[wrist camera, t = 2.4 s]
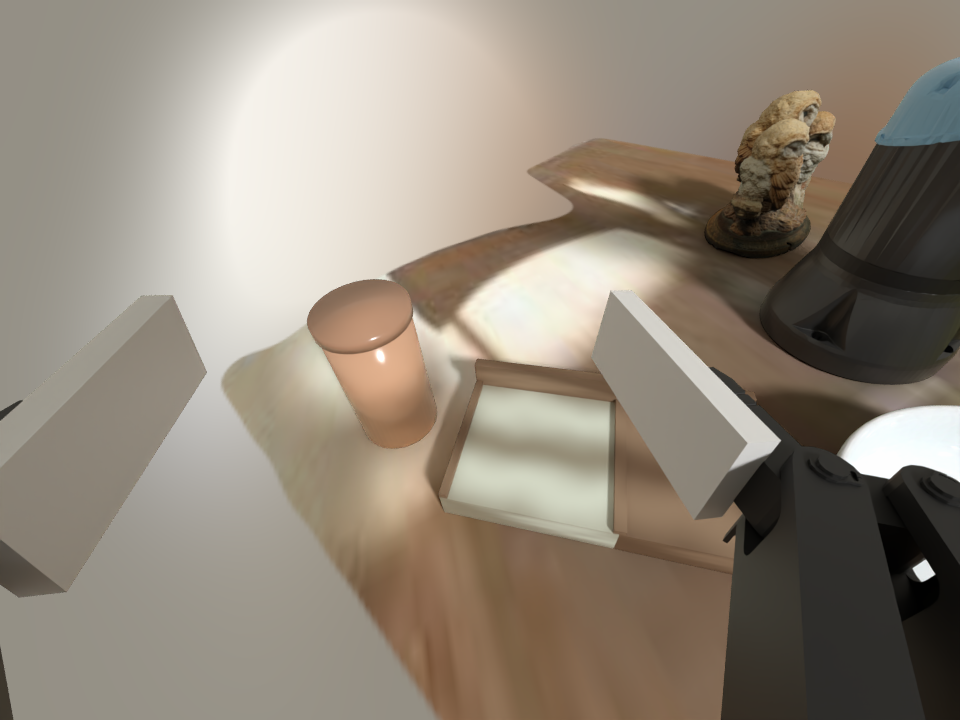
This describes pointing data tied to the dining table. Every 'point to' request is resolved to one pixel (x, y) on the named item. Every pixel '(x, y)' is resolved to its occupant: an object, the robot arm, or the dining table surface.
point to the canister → (377, 359)
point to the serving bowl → (907, 447)
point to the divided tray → (572, 468)
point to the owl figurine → (774, 178)
